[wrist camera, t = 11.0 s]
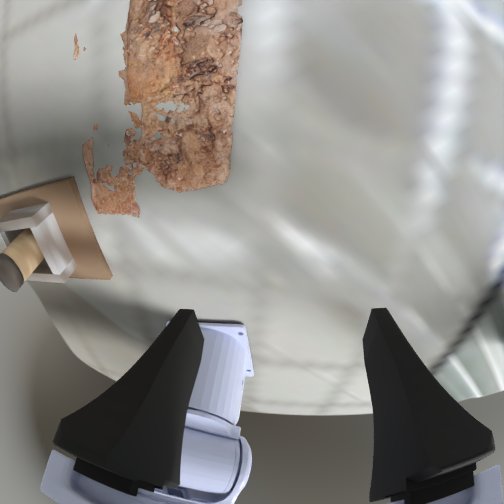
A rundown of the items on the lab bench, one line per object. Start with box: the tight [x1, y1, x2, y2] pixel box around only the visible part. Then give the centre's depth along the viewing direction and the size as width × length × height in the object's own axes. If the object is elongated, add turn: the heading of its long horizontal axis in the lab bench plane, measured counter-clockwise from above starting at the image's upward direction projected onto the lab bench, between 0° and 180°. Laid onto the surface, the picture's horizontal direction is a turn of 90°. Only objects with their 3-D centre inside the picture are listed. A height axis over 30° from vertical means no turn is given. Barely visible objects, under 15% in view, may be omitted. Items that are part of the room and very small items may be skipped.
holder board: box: [0, 177, 112, 283], centre depth 21 cm, size 10×14×3 cm
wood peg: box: [0, 228, 44, 292], centre depth 19 cm, size 4×4×6 cm
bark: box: [74, 0, 243, 218], centre depth 13 cm, size 22×12×1 cm, turn 0°
